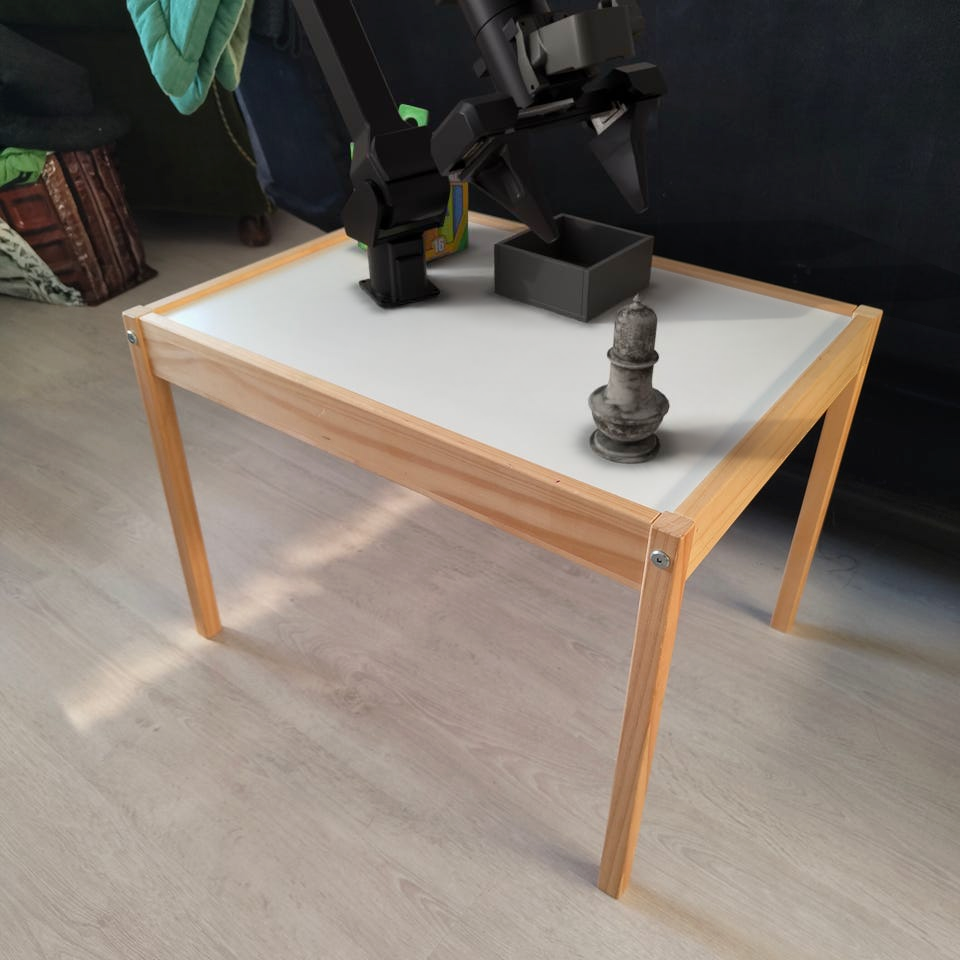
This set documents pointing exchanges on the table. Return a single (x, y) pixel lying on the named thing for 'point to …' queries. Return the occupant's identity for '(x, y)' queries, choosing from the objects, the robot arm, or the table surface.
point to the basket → (574, 267)
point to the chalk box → (456, 217)
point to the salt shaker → (629, 391)
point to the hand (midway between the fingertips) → (600, 225)
